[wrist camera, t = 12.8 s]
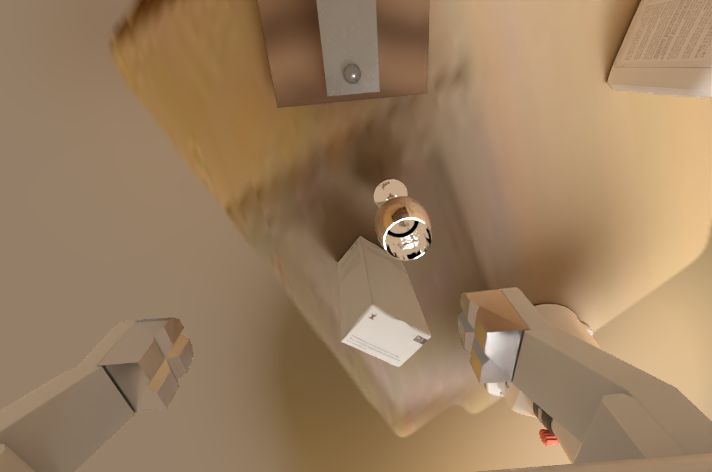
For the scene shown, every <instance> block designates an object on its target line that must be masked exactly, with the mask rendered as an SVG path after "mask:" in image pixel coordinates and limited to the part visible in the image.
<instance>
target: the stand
mask: <svg viewBox="0 0 712 472" xmlns="http://www.w3.org/2000/svg"><path fill="white" fill-rule="evenodd" d="M257 3H258V8H259V13H260V18H261V23H262V29H263V34H264V39H265V44H266V49H267V55H268V60H269V65H270V70H271V75H272V81H273V86H274V91H275V96H276V102H277V107H278V108H280V107H290V106H301V105H311V104H322V103H332V102H342V101H353V100H363V99H374V98H384V97H394V96H405V95H415V94H425V93H427V85H428V41H429V0H376V15H377V40H378V64H379V88H380V92H370V93H359V94H349V95H338V96H327V88H326V79H325V71H324V62H323V53H322V45H321V36H320V27H319V19H318V10H317V1H316V0H257Z"/></svg>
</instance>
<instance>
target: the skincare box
mask: <svg viewBox="0 0 712 472" xmlns="http://www.w3.org/2000/svg"><path fill="white" fill-rule="evenodd" d="M337 268H338V288H339V307H340V325H341V342H343V343H345V344H347V345H350V346H352V347H354V348H356V349H359V350H361V351H363V352H365V353H368V354H370V355H372V356H374V357H376V358H379V359H381V360H383V361H385V362H387V363H390V364H392V365H394V366H396V367H400V366H401V365H402V364H403V363H404V362H405V361H406V360H407V359H408V358H409V357H411V356H412V355H413V354H414V353H415V352H416V351H417V350H418V349H419V348H420V347H421V346H422V345H423V344H424V343H425V342H426V341H427V340H428V339H429V338H430V337H431V334H430V331H429V329H428V326H427V323H426V321H425V318H424V316H423V313H422V311H421V308H420V305H419V303H418V300H417V298H416V295H415V293H414V290H413V287H412V285H411V282H410V280H409V277H408V275H407V272H406V269H405V267H404V264H403V262H402V261H401V260H398V259H395V258H393V257H392V256H390V255H389V254H388V253H387V252H386V251H385V250H383V249H382V248H380V247H378V246H377V245H375V244H373V243H372V242H370V241H368V240H366V239H365V238H363V237H362V236H360V237H359V238H358V239H357V240H356V241H355V243H354V244H353V245H352V246H351V247H350V249H349V250H348V251H347V252H346V253H345V255H344V256H343V257H342V258H341V259H340V261H339V262H338V264H337Z"/></svg>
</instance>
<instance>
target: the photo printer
mask: <svg viewBox="0 0 712 472" xmlns="http://www.w3.org/2000/svg"><path fill="white" fill-rule="evenodd" d="M607 83H608V84H609V85H610V87H611V88H612V89H614V90H616V91H624V92H636V93H647V94H659V95H670V96H682V97H694V98H709V97H712V0H641V2H640V4H639V6H638V8H637V11H636V13H635V15H634V17H633V20H632V22H631V24H630V26H629V29H628V31H627V33H626V36H625V38H624V40H623V43H622V45H621V47H620V50H619V52H618V54H617V56H616V59H615V61H614V64H613V66H612V69H611V71H610V74H609V78H608V82H607Z"/></svg>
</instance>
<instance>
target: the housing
mask: <svg viewBox="0 0 712 472" xmlns="http://www.w3.org/2000/svg"><path fill="white" fill-rule="evenodd" d="M316 1H317V10H318V19H319V27H320V36H321V45H322V53H323V62H324V71H325V79H326V88H327V96H338V95H349V94H359V93H370V92H380V88H379V64H378V40H377V15H376V0H316Z"/></svg>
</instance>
